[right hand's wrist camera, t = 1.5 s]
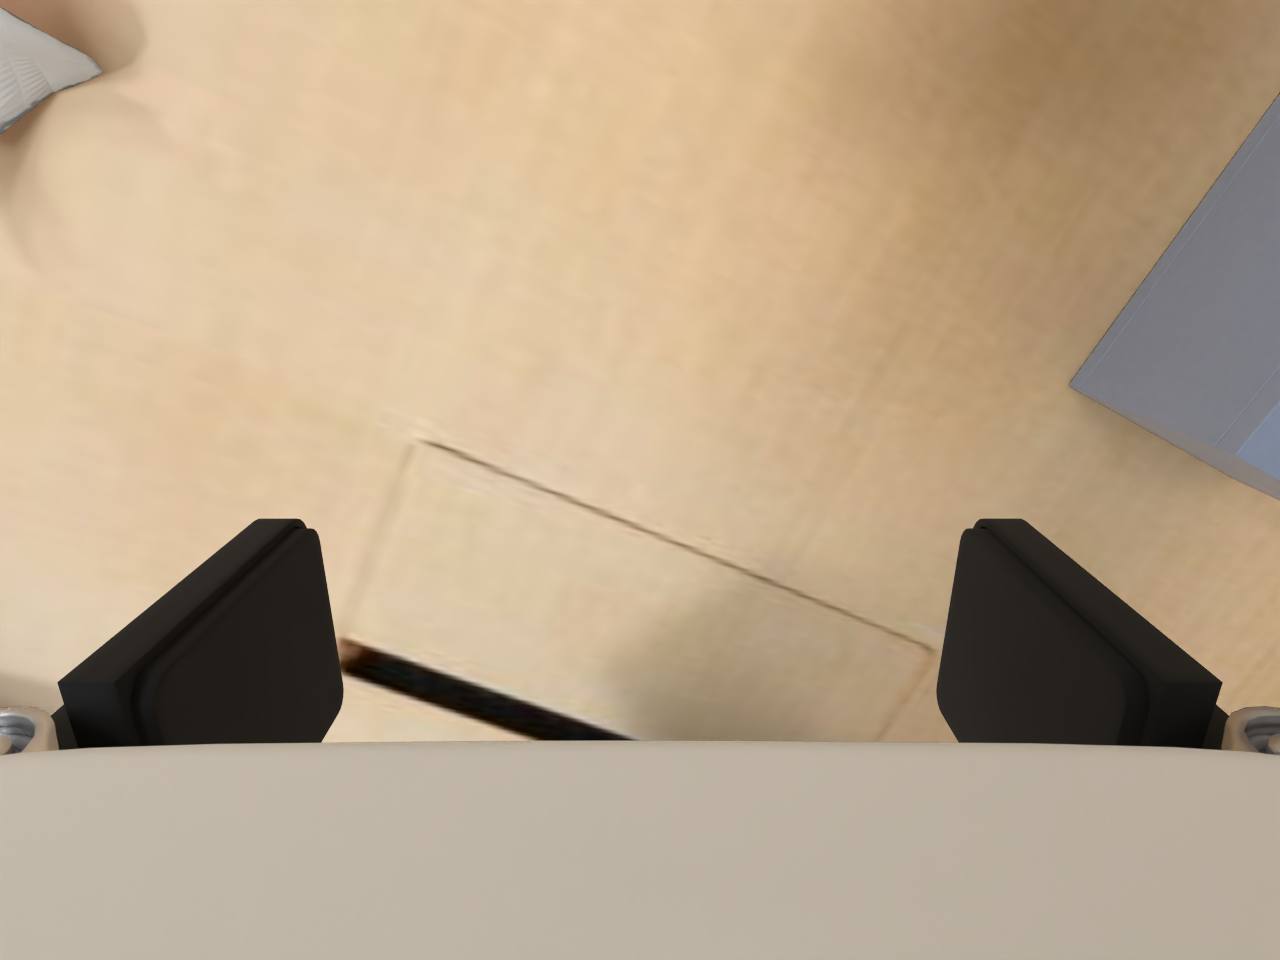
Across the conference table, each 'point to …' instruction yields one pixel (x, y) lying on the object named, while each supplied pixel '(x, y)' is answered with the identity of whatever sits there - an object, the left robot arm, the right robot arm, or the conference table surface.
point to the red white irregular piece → (35, 67)
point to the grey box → (1209, 327)
